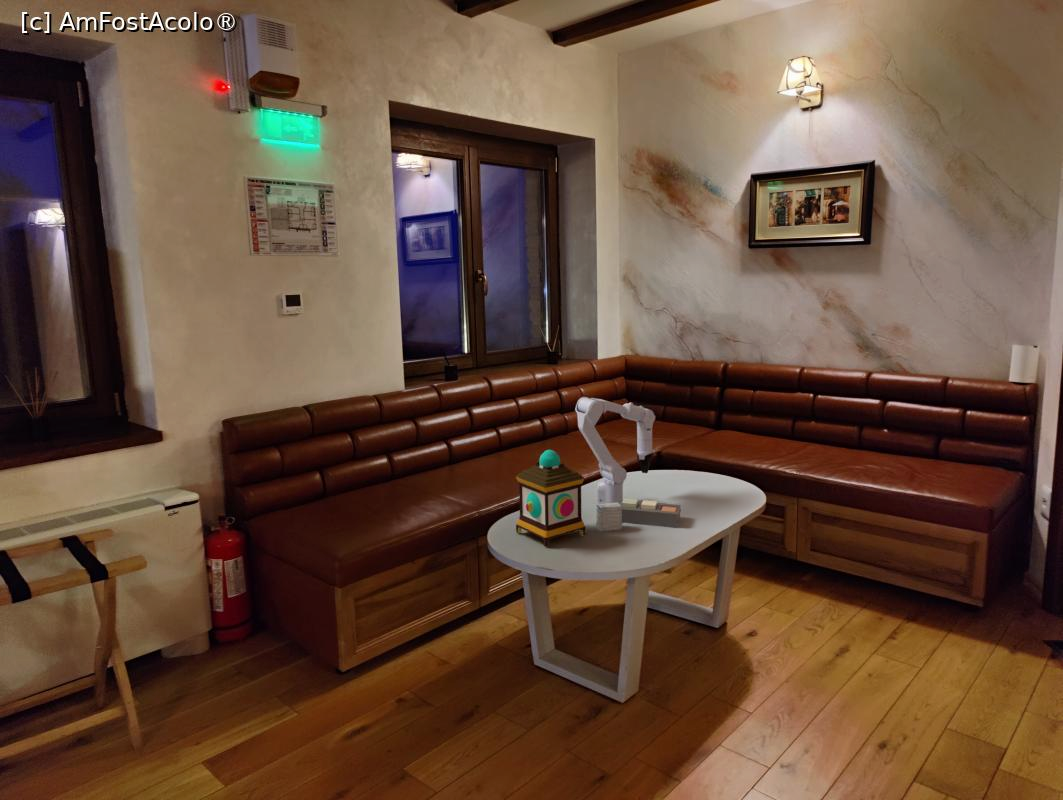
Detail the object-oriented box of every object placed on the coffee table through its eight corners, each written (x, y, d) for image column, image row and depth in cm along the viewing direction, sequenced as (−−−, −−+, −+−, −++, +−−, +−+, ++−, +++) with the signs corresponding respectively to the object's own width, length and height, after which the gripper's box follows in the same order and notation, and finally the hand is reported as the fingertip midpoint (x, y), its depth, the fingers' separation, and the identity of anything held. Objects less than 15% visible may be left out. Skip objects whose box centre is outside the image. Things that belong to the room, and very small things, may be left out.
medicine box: (617, 525, 259) (617, 502, 258) (622, 529, 255) (622, 506, 253) (596, 527, 258) (596, 503, 256) (600, 532, 253) (600, 508, 252)
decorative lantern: (510, 533, 254) (508, 449, 248) (555, 520, 265) (554, 439, 260) (545, 550, 238) (544, 461, 232) (591, 536, 249) (591, 450, 244)
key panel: (617, 522, 262) (617, 508, 261) (622, 513, 272) (622, 500, 271) (676, 527, 256) (677, 513, 255) (680, 518, 265) (680, 504, 264)
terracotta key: (660, 518, 260) (660, 510, 259) (662, 513, 264) (662, 506, 264) (674, 519, 258) (675, 511, 258) (676, 515, 263) (676, 507, 262)
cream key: (641, 512, 261) (641, 504, 261) (643, 507, 266) (643, 500, 266) (655, 513, 260) (655, 505, 259) (657, 508, 265) (657, 501, 264)
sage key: (621, 510, 264) (621, 502, 263) (624, 506, 268) (624, 498, 268) (635, 511, 262) (635, 503, 262) (637, 507, 267) (637, 499, 266)
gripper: (652, 443, 276) (652, 478, 278) (657, 434, 289) (658, 467, 292) (633, 443, 278) (633, 477, 280) (640, 433, 291) (640, 466, 294)
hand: (645, 472), depth 286 cm, fingers closed
